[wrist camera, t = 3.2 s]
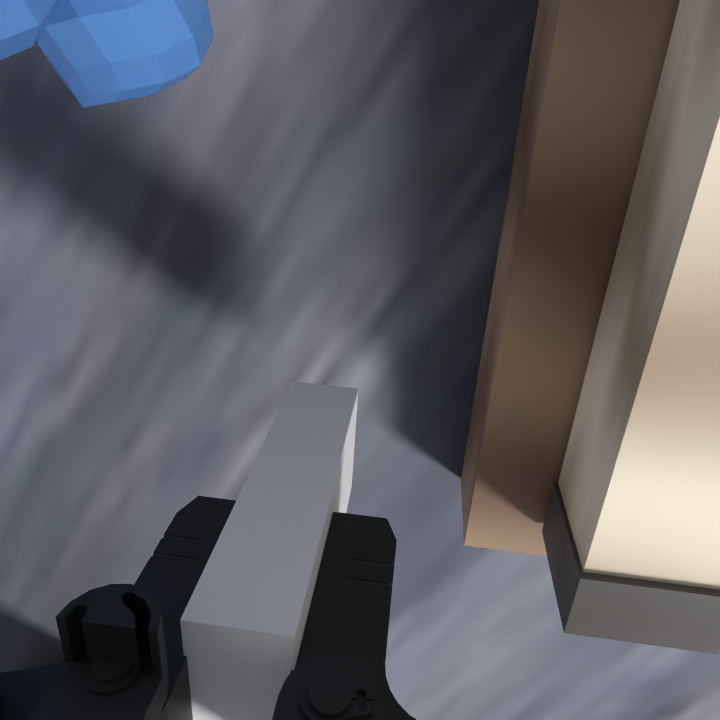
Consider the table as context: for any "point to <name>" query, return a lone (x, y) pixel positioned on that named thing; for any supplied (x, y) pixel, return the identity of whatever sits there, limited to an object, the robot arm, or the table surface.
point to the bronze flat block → (557, 252)
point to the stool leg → (654, 386)
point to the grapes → (110, 43)
